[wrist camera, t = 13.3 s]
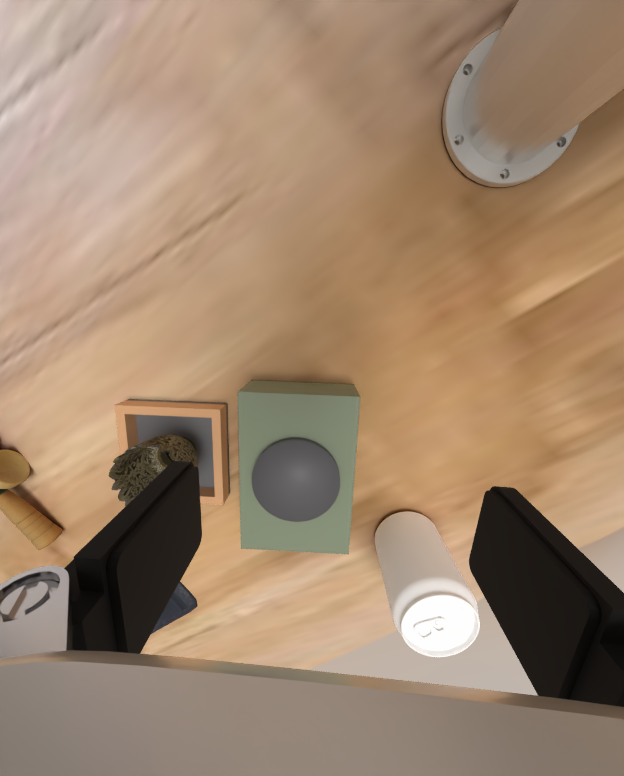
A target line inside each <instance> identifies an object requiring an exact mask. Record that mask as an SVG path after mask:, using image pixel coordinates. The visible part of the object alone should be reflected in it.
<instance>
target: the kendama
mask: <svg viewBox="0 0 624 776" xmlns="http://www.w3.org/2000/svg"><path fill="white" fill-rule="evenodd" d="M29 474H30V466H29V464H28V462H27V460H26V459H25V458H24V457H23V456H22V455H21V454H19V453H18V452H15V451H12V450H0V509H1V510H2V512H3V513H4V514H5V515H6V516H7V517H8V518H9V519H10V521H11V522H12V523H13V524H16V527H17V528H18V529H19V530H21V532H22V533H23V534H24V535H26V537H27V538H28V539H29V540H30V541H31V542H32V544H33V545H34V546H35V547H36V548H37V549H38V550H41V549H43V548H45V547H46V546H48V545H49V544H50V543H52V542H53V541H54V540H55V539H56V538H57V537H58V536H59V535H60V534H61V533H62V531H63V530H62V529H61V528H60V527H58V526H57V525H56V524H54V523H53V522H52V521H50V520H49V519H47V518H46V517H45V516H44V515H42V514H41V513H40V512H39V511H38V510H36V509H35V508H34V507H33V506H31V505H30V504H29V503H28V502H26V501H25V500H23V499H22V498H20V497H19V496H18V495H16V494H14V493H13V492H11V491H10V490H8V489H10V488H13V487H15V486H17V485H19V484H20V483H22V482H24V481H25V480H26V479H27V478H28V476H29Z"/></svg>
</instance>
